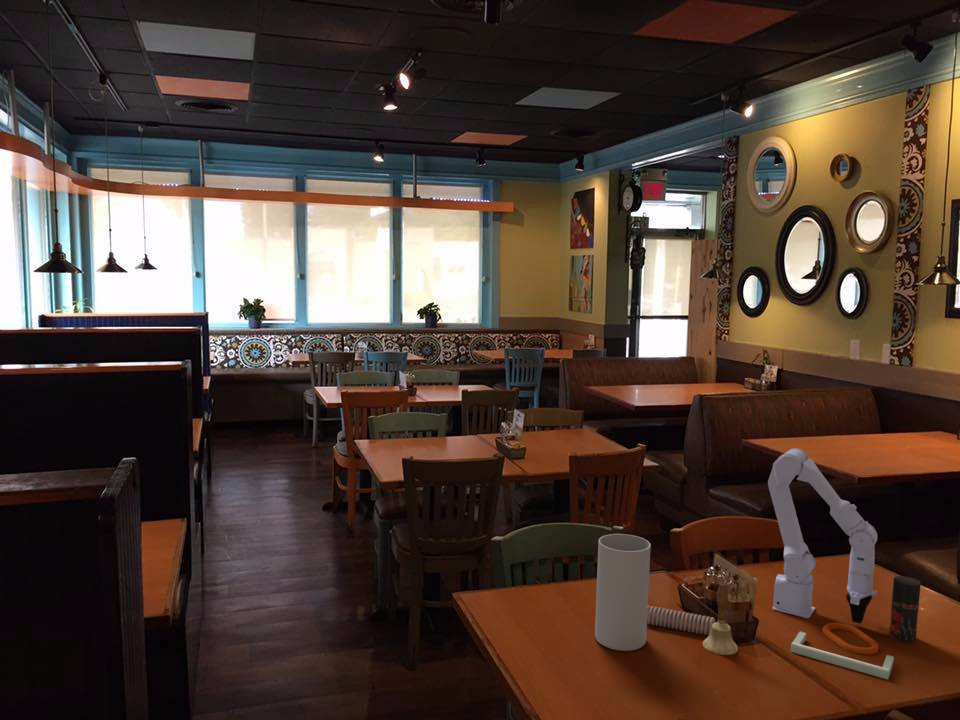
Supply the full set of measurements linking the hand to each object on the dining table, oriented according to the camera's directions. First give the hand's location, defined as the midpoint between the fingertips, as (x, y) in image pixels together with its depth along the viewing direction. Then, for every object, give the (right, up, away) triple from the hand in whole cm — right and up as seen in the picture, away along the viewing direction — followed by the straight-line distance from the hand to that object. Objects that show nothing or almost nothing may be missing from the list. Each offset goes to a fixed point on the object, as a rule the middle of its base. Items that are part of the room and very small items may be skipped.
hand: (857, 621), depth 197 cm
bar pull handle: (-12, -3, -17) cm, 21 cm away
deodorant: (+9, -2, -6) cm, 11 cm away
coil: (-48, -1, -3) cm, 48 cm away
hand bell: (-40, -2, -13) cm, 42 cm away
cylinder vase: (-64, -1, -11) cm, 65 cm away
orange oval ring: (-6, -2, -8) cm, 10 cm away
